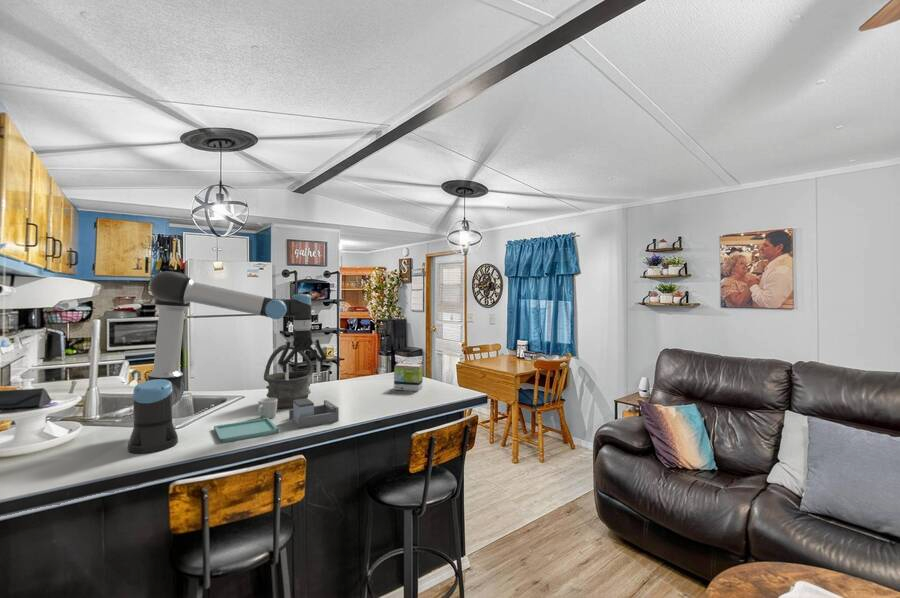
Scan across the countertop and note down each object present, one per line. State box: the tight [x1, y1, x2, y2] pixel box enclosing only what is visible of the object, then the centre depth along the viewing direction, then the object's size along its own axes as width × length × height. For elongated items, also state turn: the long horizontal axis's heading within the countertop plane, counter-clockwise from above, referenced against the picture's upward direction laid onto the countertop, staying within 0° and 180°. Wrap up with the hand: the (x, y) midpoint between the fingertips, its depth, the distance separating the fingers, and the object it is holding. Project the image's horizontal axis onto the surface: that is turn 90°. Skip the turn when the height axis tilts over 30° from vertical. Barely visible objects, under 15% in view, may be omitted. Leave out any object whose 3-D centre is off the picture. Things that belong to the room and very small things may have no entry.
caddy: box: [292, 398, 315, 425], centre depth 187 cm, size 6×10×9 cm, turn 35°
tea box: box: [393, 362, 424, 392], centre depth 250 cm, size 15×10×15 cm, turn 80°
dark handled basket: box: [263, 344, 315, 409], centre depth 216 cm, size 22×23×30 cm
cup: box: [256, 397, 278, 419], centre depth 191 cm, size 11×8×8 cm
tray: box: [213, 418, 280, 444], centre depth 173 cm, size 21×19×2 cm
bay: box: [288, 399, 340, 429], centre depth 189 cm, size 17×16×6 cm
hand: (303, 377), depth 186 cm, fingers open, 13 cm apart
